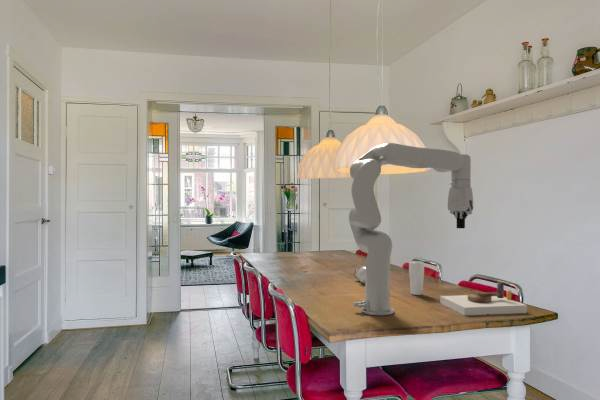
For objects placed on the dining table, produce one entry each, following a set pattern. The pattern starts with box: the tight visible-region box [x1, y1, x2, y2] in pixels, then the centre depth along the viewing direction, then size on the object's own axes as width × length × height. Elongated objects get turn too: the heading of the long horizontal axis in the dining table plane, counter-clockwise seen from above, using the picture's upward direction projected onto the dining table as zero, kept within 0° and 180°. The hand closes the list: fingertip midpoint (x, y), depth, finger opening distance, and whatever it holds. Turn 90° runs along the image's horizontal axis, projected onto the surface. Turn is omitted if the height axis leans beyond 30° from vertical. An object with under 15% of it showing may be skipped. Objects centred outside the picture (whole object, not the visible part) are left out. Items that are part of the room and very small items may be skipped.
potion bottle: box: [353, 265, 365, 285], centre depth 234 cm, size 9×10×15 cm
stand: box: [439, 290, 528, 316], centre depth 182 cm, size 26×20×6 cm
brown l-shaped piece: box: [467, 281, 505, 302], centre depth 182 cm, size 15×9×7 cm, turn 97°
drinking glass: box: [408, 260, 425, 296], centre depth 207 cm, size 7×7×15 cm
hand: (460, 228), depth 186 cm, fingers closed
